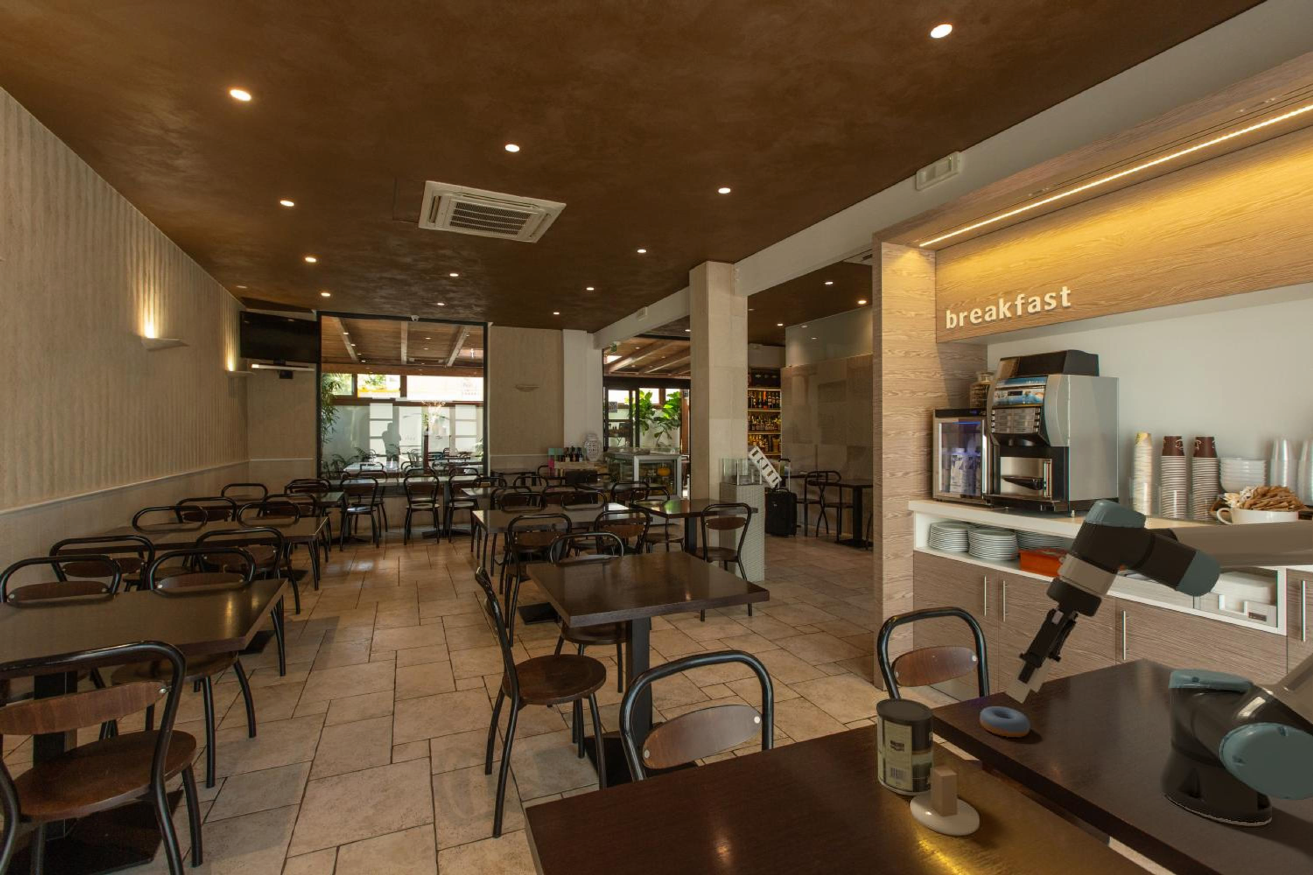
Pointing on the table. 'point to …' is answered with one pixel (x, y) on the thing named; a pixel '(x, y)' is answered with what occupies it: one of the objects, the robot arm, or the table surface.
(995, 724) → the doughnut
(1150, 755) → the table surface
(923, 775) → the coffee can
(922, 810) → the lid
